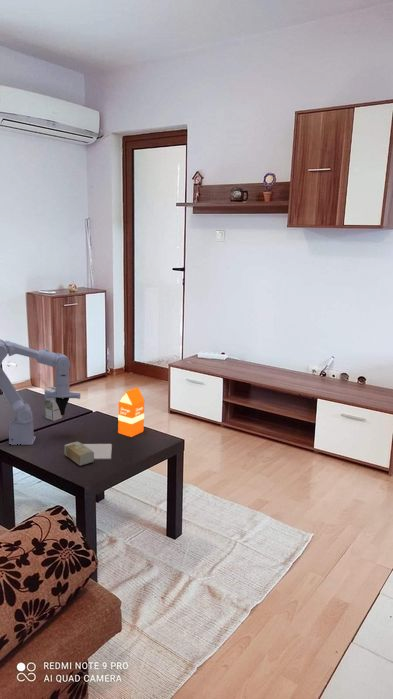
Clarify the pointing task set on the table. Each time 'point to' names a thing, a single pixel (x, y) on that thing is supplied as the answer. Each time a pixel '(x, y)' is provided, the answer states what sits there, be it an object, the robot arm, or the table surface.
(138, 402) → the orange juice
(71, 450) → the skincare box
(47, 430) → the table surface
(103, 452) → the mat
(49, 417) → the syrup box
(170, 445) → the table surface
